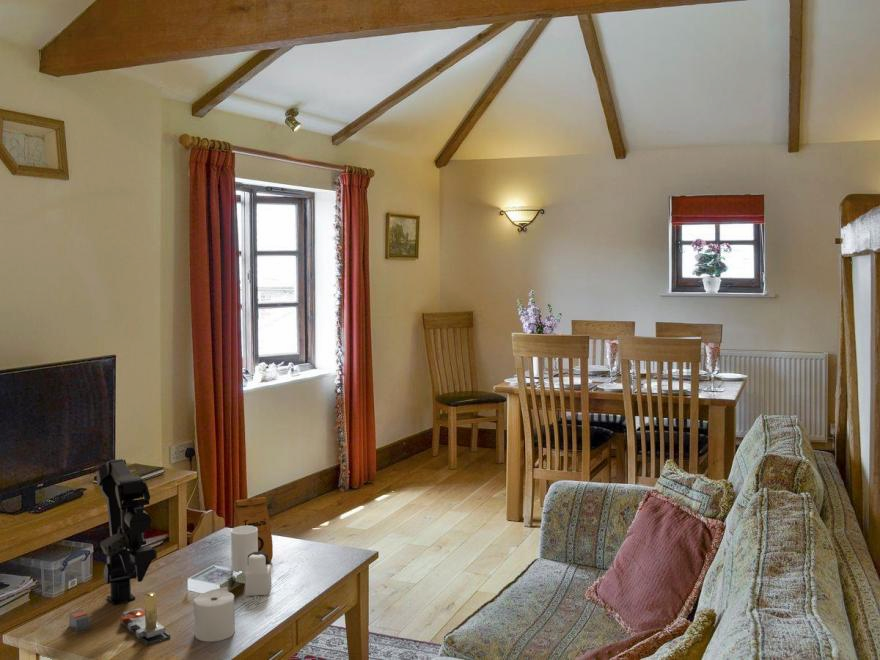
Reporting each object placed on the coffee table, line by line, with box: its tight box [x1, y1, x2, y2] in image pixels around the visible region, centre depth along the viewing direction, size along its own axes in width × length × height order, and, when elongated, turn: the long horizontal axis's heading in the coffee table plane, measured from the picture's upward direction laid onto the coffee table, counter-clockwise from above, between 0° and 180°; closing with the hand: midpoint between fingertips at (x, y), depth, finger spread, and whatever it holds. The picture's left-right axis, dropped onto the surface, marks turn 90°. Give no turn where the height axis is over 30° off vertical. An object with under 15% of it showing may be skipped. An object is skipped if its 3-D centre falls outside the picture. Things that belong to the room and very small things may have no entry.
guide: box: [120, 622, 171, 646], centre depth 233 cm, size 18×7×1 cm, turn 41°
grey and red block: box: [68, 609, 91, 635], centre depth 234 cm, size 6×4×4 cm, turn 41°
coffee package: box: [233, 496, 274, 563], centre depth 283 cm, size 10×12×22 cm
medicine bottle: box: [244, 551, 272, 597], centre depth 259 cm, size 7×7×12 cm
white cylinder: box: [230, 526, 258, 580], centre depth 269 cm, size 8×8×16 cm
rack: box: [119, 591, 166, 639], centre depth 232 cm, size 17×7×10 cm, turn 41°
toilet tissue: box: [193, 586, 236, 643], centre depth 231 cm, size 11×12×10 cm
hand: (133, 577), depth 237 cm, fingers open, 8 cm apart
